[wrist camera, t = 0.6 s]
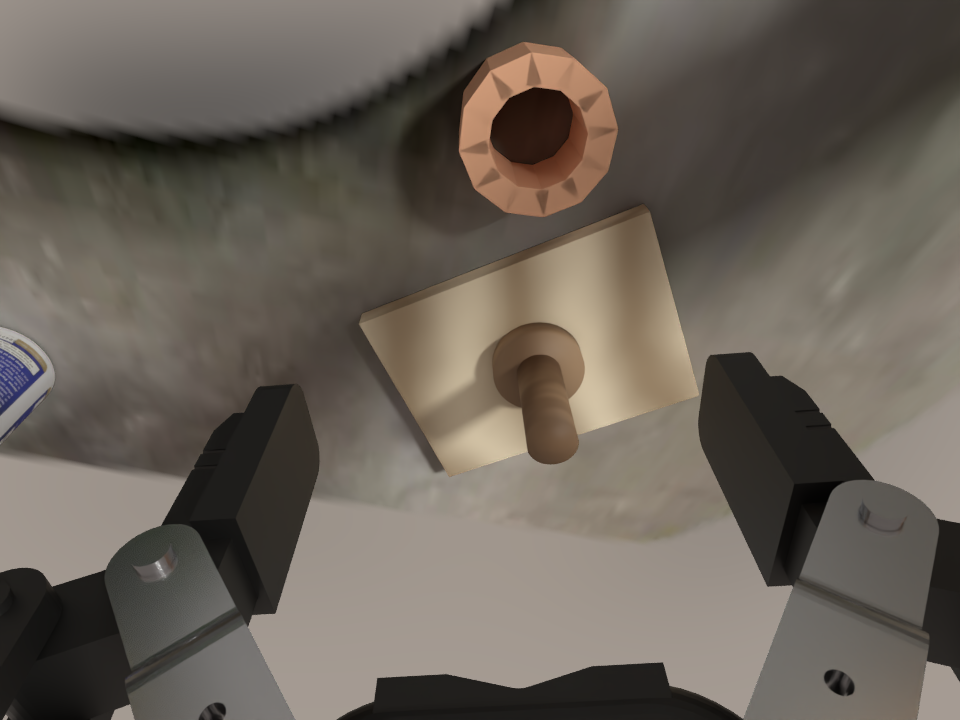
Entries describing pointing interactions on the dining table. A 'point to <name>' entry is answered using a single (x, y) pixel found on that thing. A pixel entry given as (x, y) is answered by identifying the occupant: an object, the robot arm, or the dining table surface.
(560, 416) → the post
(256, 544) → the robot arm
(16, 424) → the pill bottle
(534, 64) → the ring
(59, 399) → the dining table surface
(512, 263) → the base board
